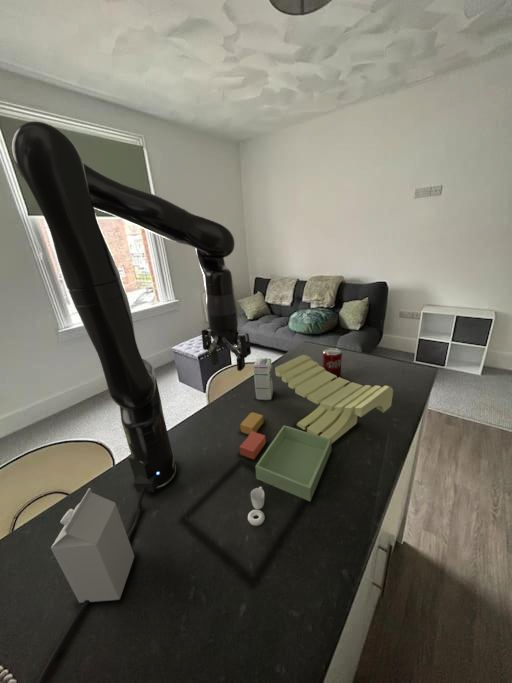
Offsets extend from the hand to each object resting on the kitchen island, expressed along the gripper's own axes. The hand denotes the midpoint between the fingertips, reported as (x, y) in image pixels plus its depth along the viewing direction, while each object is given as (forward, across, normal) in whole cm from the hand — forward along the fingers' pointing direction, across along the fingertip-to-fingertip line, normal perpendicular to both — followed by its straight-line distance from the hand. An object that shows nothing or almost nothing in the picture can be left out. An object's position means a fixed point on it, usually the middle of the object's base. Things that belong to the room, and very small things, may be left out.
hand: (228, 366), depth 77 cm
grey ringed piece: (+24, +16, -20) cm, 35 cm away
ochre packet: (+24, +3, +5) cm, 25 cm away
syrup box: (+24, -2, +23) cm, 33 cm away
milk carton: (+24, 0, -43) cm, 49 cm away
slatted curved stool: (+24, +24, +17) cm, 38 cm away
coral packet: (+24, +8, -3) cm, 25 cm away
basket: (+24, +21, -3) cm, 32 cm away
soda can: (+24, +17, +46) cm, 55 cm away
